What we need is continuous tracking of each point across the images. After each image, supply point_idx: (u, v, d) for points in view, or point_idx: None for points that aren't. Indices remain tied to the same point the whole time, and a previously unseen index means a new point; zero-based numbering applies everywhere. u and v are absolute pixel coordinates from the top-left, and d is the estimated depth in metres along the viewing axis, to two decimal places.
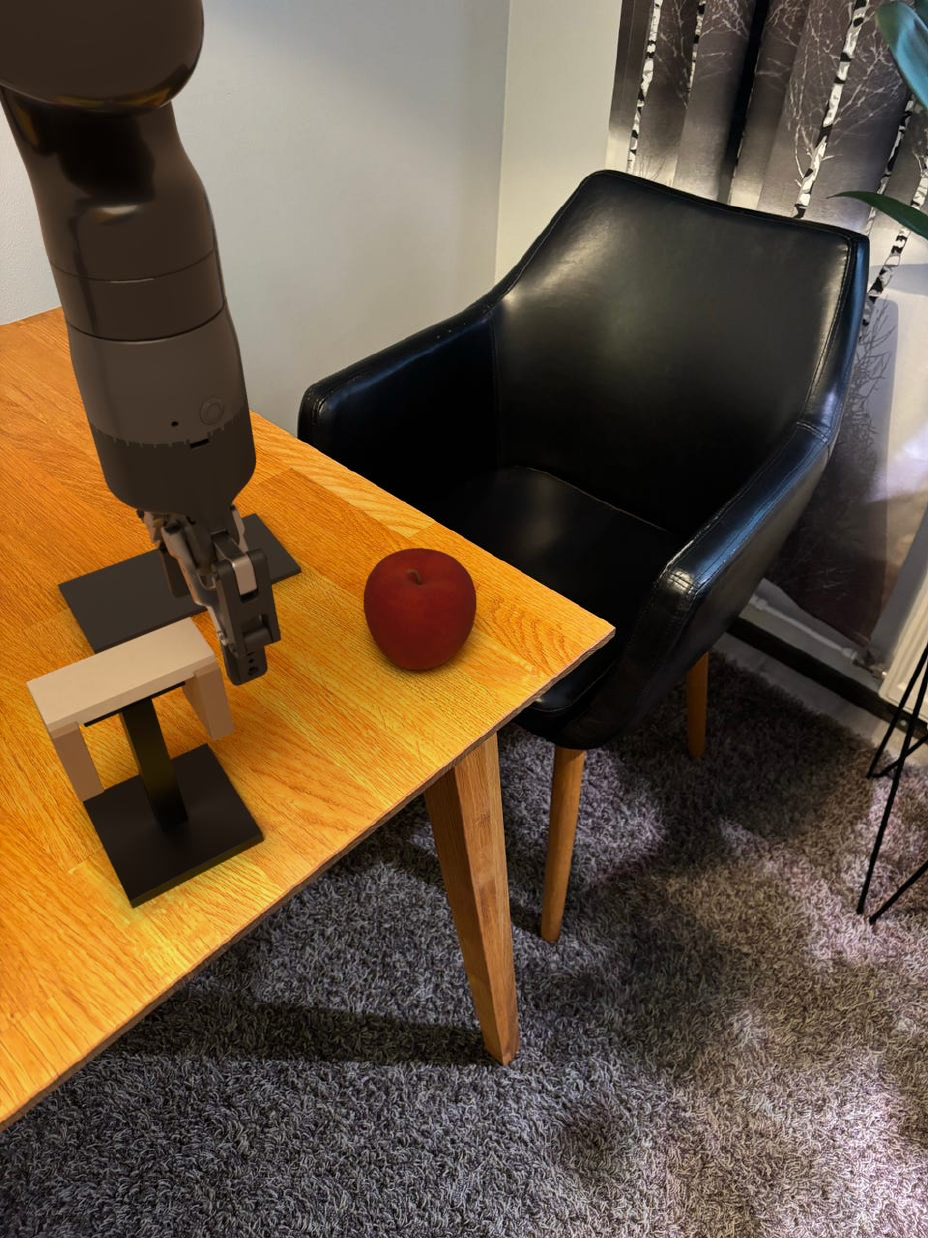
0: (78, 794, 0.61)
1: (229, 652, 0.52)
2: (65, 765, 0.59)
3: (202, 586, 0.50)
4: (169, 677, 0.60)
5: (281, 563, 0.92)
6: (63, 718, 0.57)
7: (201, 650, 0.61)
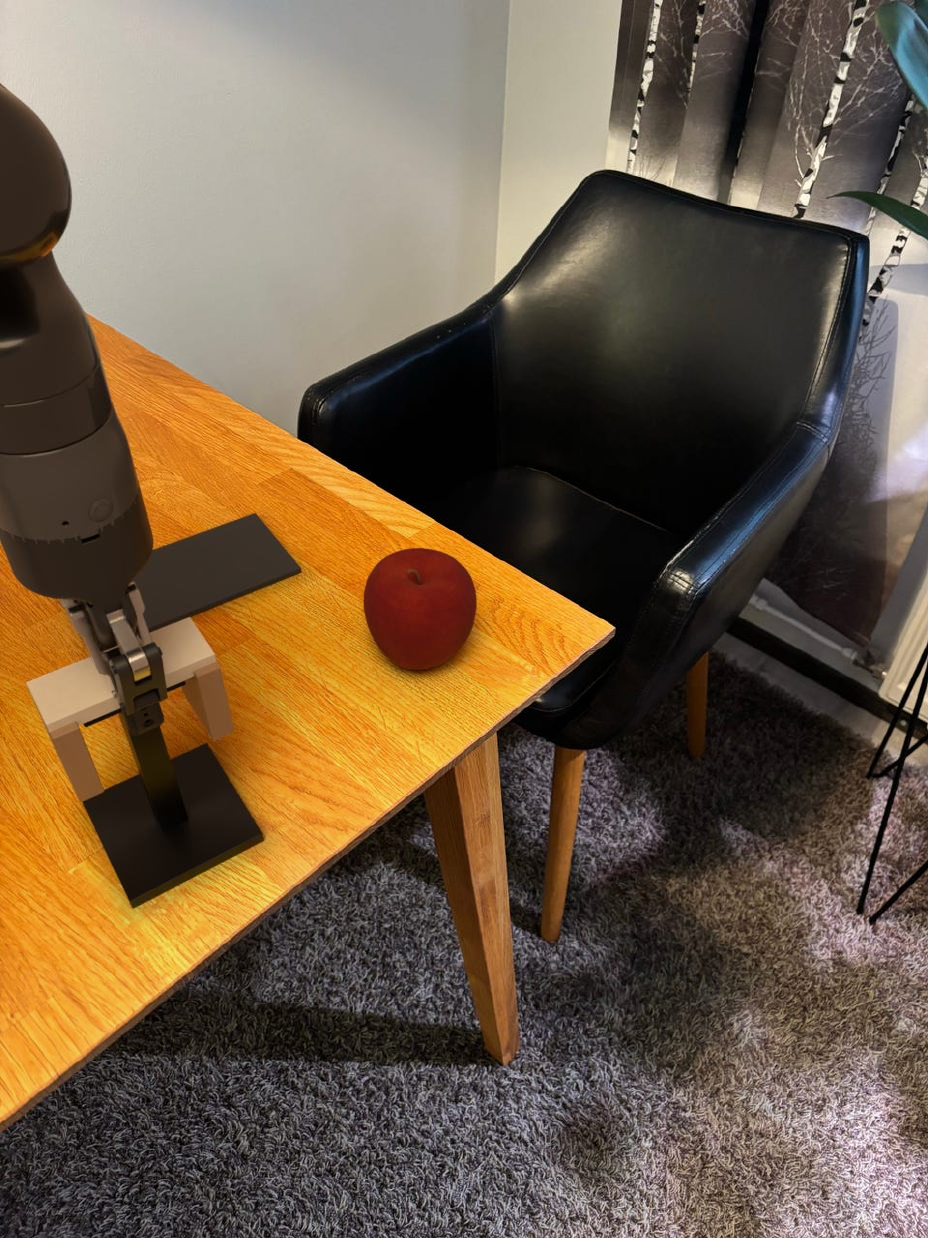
0: (78, 794, 0.61)
1: None
2: (65, 765, 0.59)
3: (102, 659, 0.55)
4: (169, 677, 0.60)
5: (281, 563, 0.92)
6: (63, 718, 0.57)
7: (201, 650, 0.61)
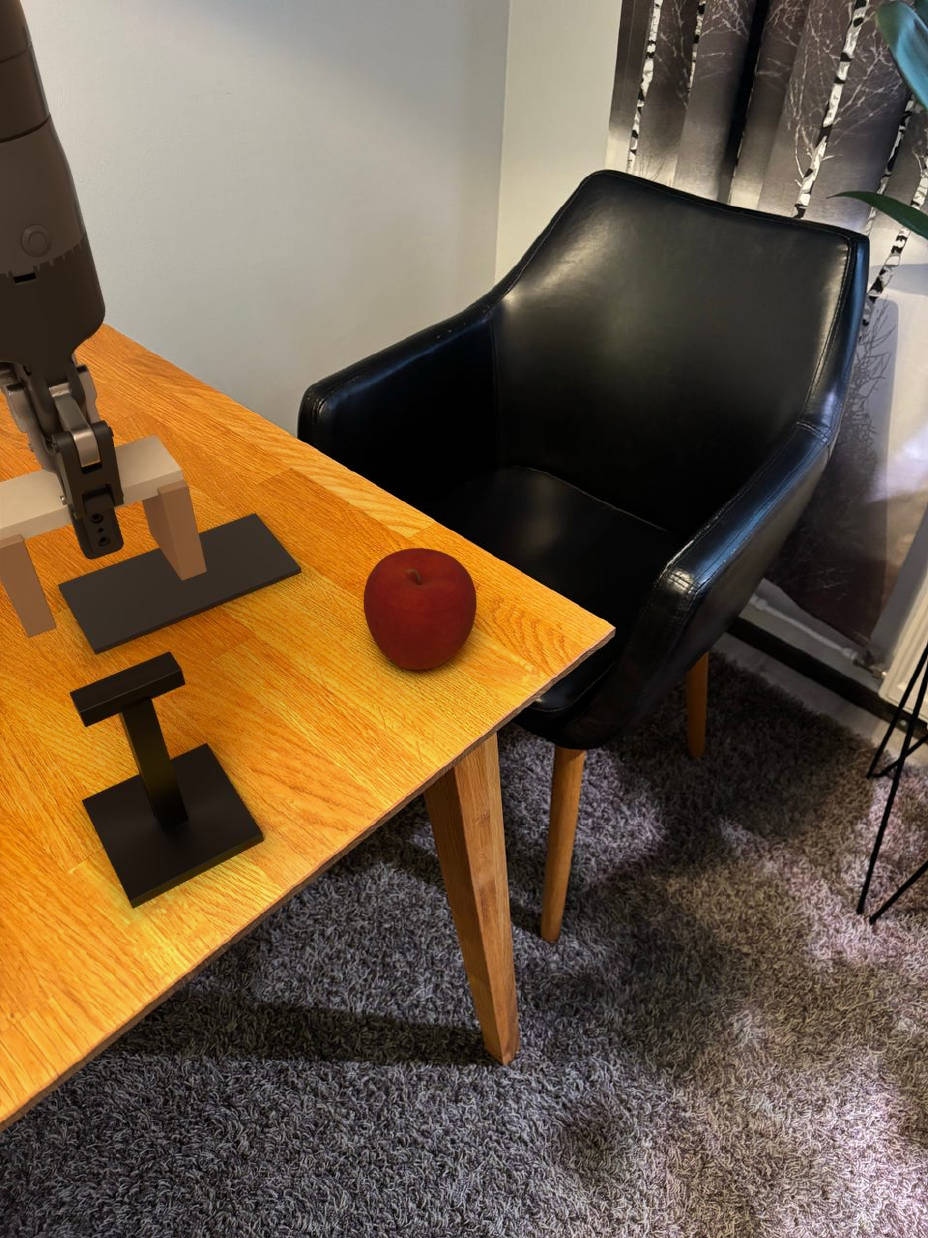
0: (26, 627, 0.53)
1: (77, 520, 0.51)
2: (9, 587, 0.51)
3: (47, 452, 0.48)
4: (129, 492, 0.53)
5: (281, 563, 0.92)
6: (5, 527, 0.50)
7: (166, 465, 0.54)
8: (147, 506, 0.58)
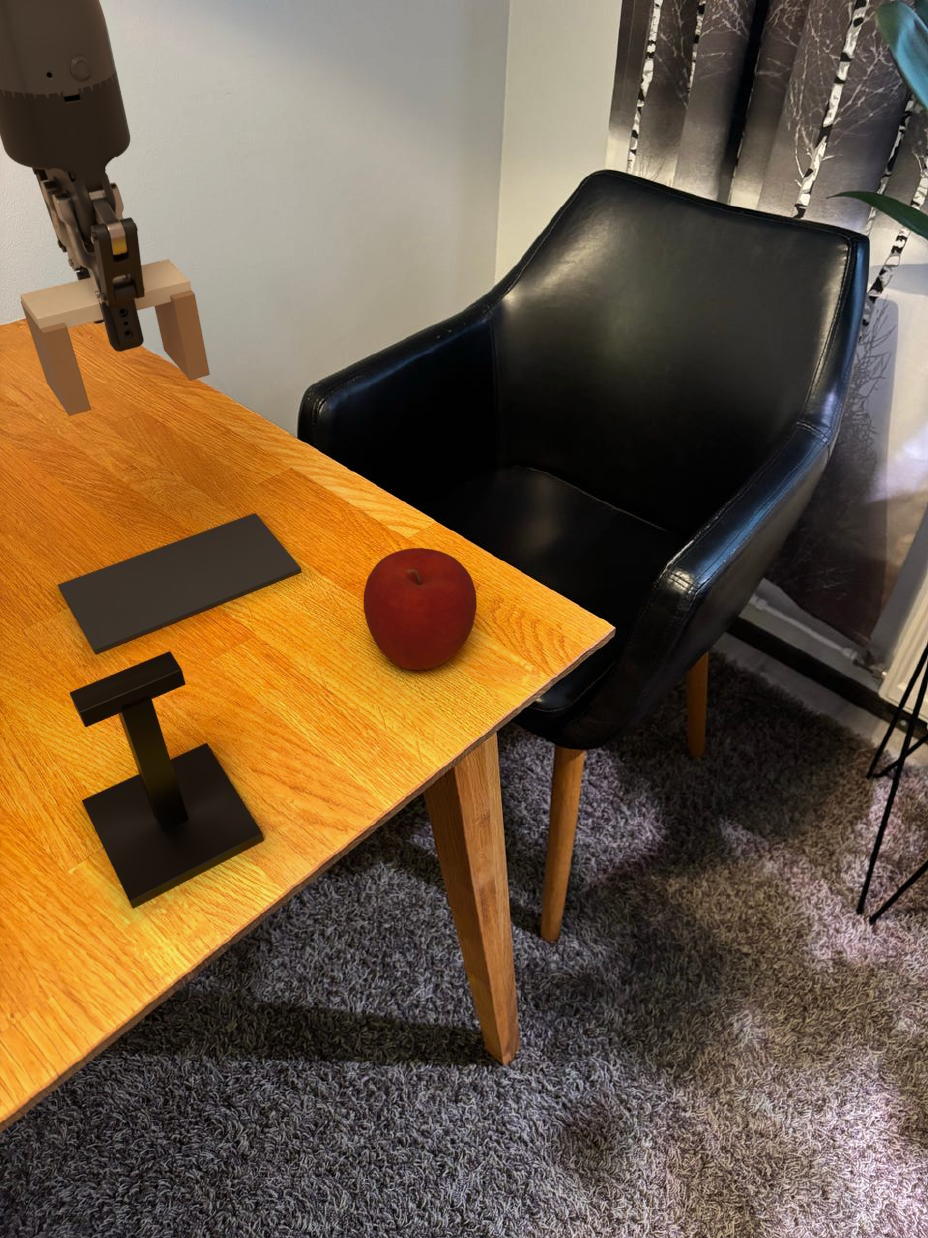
0: (67, 405, 0.68)
1: (107, 314, 0.65)
2: (54, 367, 0.66)
3: (85, 251, 0.62)
4: (148, 296, 0.67)
5: (281, 563, 0.92)
6: (52, 315, 0.64)
7: (177, 278, 0.68)
8: (161, 321, 0.72)
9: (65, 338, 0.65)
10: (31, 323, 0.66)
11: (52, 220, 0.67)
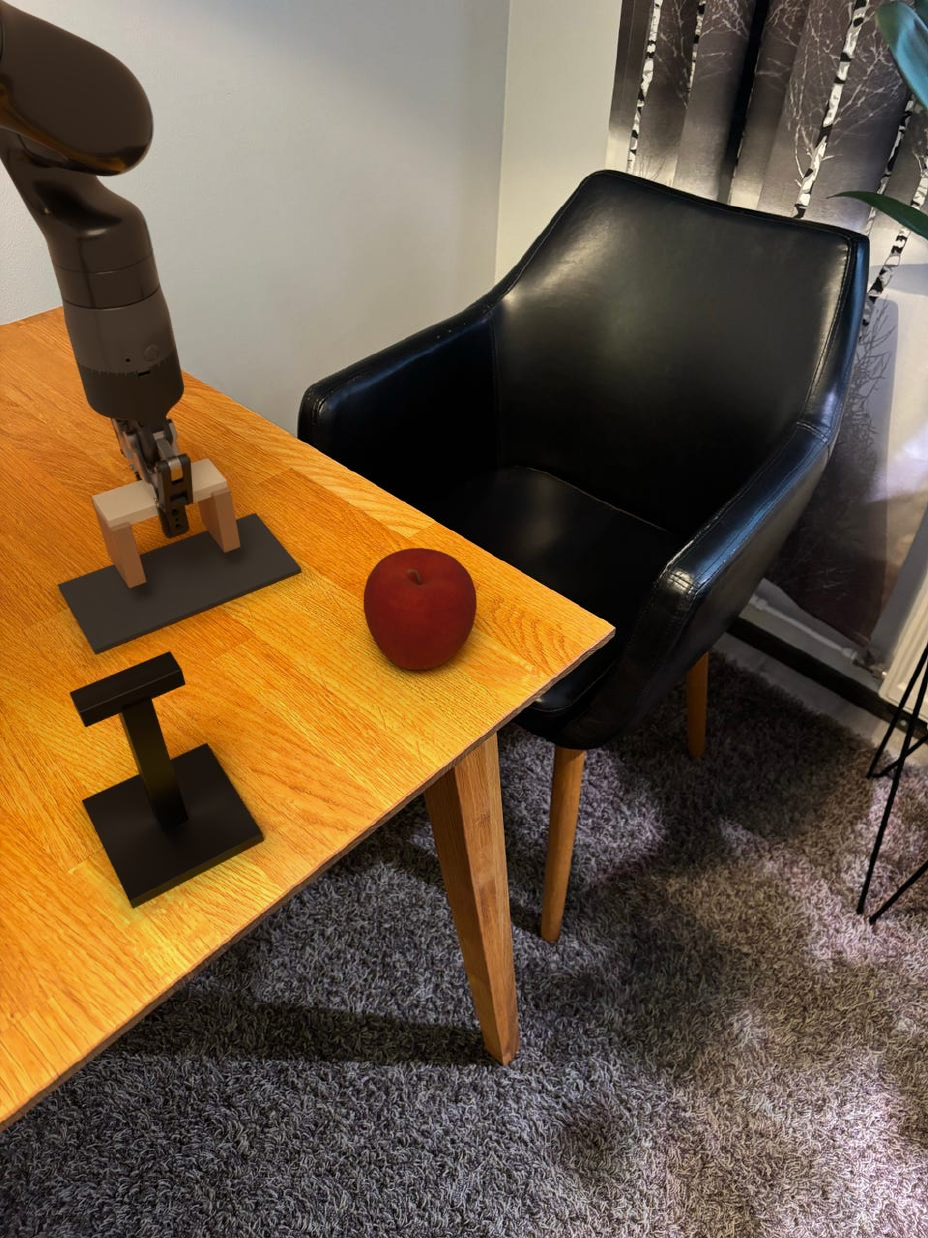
0: (128, 581, 0.84)
1: (162, 513, 0.82)
2: (120, 554, 0.82)
3: (147, 471, 0.79)
4: (194, 495, 0.84)
5: (281, 563, 0.92)
6: (120, 517, 0.81)
7: (216, 478, 0.85)
8: (201, 504, 0.89)
9: (129, 533, 0.81)
10: (100, 518, 0.83)
11: (116, 434, 0.84)
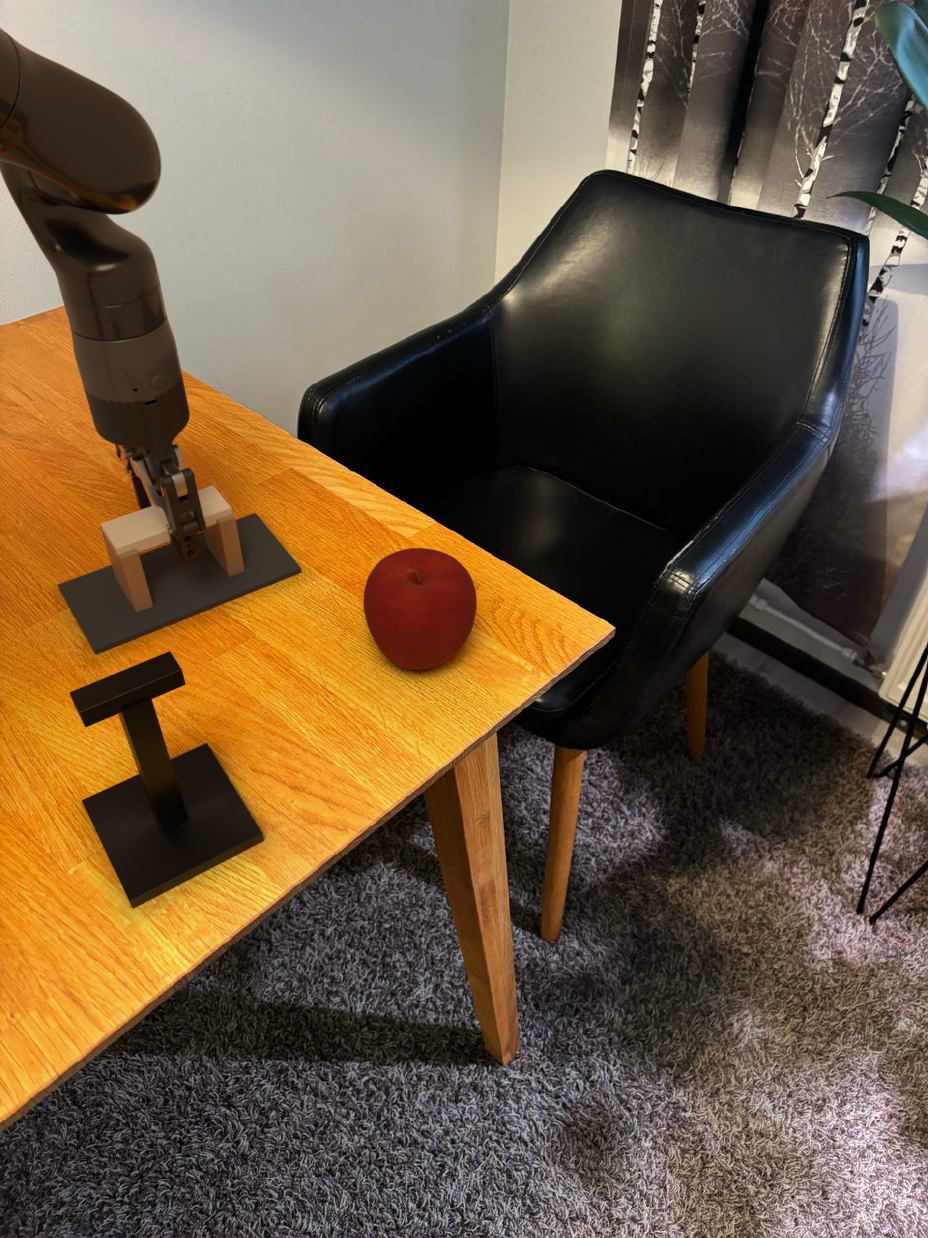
0: (135, 605, 0.86)
1: (174, 539, 0.82)
2: (127, 580, 0.84)
3: (156, 494, 0.80)
4: None
5: (281, 563, 0.92)
6: (127, 545, 0.83)
7: (221, 505, 0.87)
8: (206, 529, 0.91)
9: (136, 560, 0.84)
10: (108, 545, 0.85)
11: None
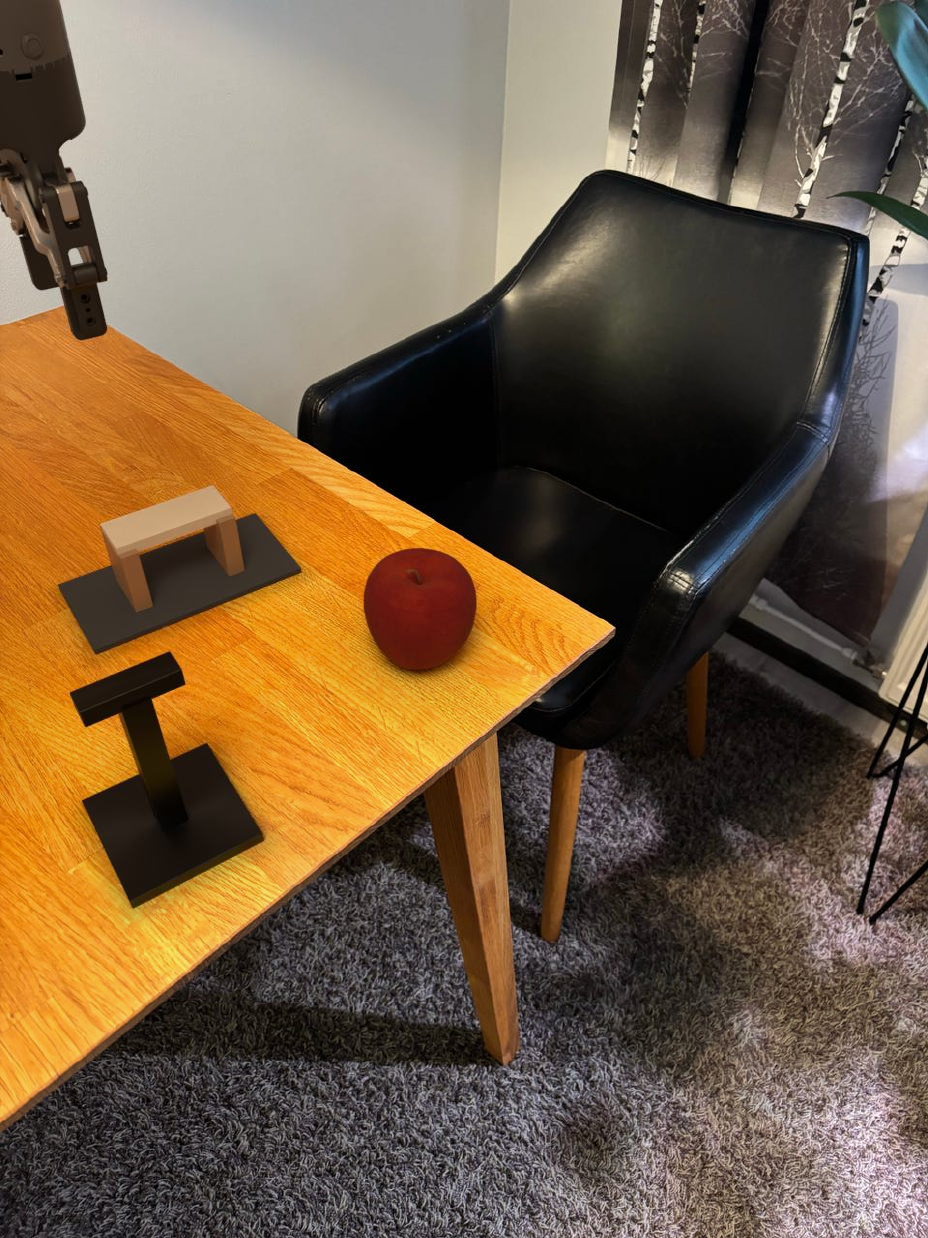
0: (135, 605, 0.86)
1: (68, 300, 0.62)
2: (127, 580, 0.84)
3: (40, 230, 0.60)
4: (199, 522, 0.86)
5: (281, 563, 0.92)
6: (127, 545, 0.83)
7: (221, 505, 0.87)
8: (206, 529, 0.91)
9: (136, 560, 0.84)
10: (108, 545, 0.85)
11: None
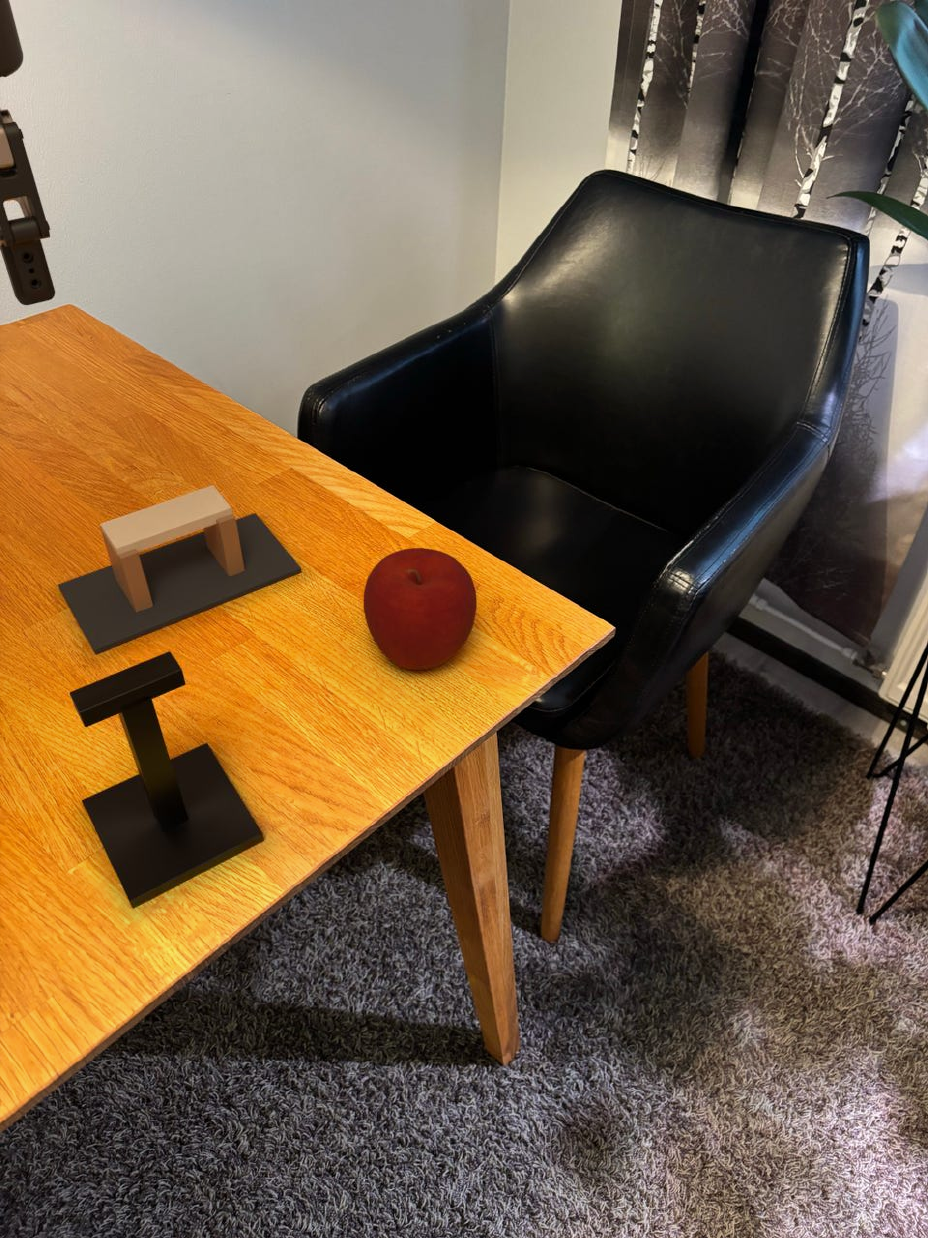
0: (135, 605, 0.86)
1: (9, 260, 0.56)
2: (127, 580, 0.84)
3: None
4: (199, 522, 0.86)
5: (281, 563, 0.92)
6: (127, 545, 0.83)
7: (221, 505, 0.87)
8: (206, 529, 0.91)
9: (136, 560, 0.84)
10: (108, 545, 0.85)
11: None
